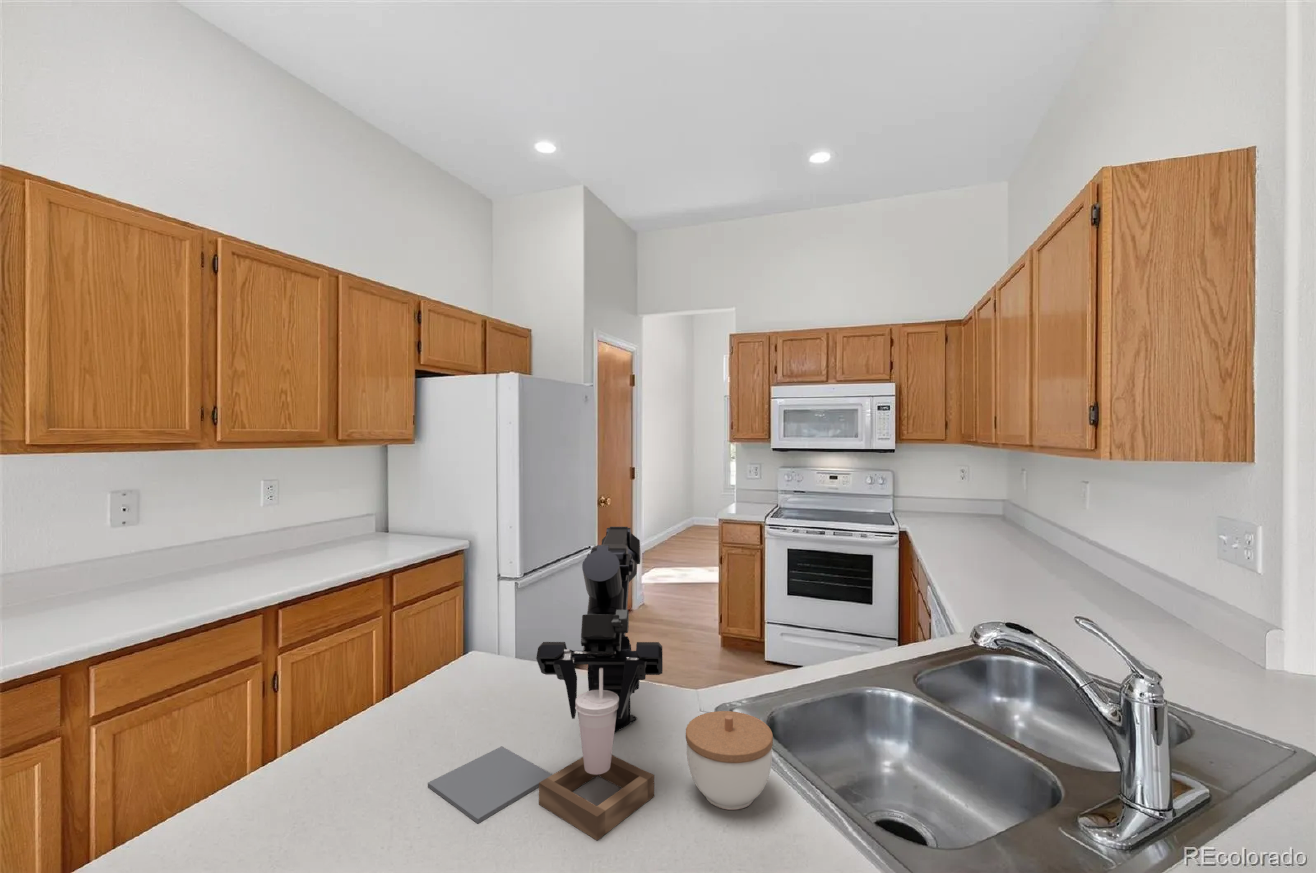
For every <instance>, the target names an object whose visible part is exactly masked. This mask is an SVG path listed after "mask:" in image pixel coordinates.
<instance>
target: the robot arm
mask: <svg viewBox="0 0 1316 873" xmlns="http://www.w3.org/2000/svg"><path fill="white" fill-rule="evenodd" d="M641 552H642V551H641V540H640V539H639V538H638V537H637V536H636V535H635V534H633V533H632V529H631V527H628V526H610V527H607V528H606V532H605V536H604V537H603V538H602V540H601V544H597V545H594V546H593V547H592V548H591V549H590V553H588V554H586V557H585V558H584V560H583V562H582V567H581V568H582V573H583V574H582V575H583V579H584V583H585V589H586V592H587V594H588V601H587V602H588V604H587V610H586V611H587V612H586V614H582V616H581V618H582V619H581V631H580V645H581V647H583V649H582V650H572V649H570V648H569V649H568V647H567V643H566V642H565V641H542V643H541V644H540V645H539V646H538V647H537V651H536V652H537V653H536V657H535V659H536V662H537V664H538V668H539V671H540V673H541V674H542V675H546V676H547V675H549V676H550V675H551V676H553V675H555V676H556V678H557V679H558V680H559V681H560V680H561V681H564V683H565V687H566V694H567V698H568V704H569V711H570V716H571V719H573V720H575V718H576V715H577V714H576V713H577V710H576V709H575V700H576V698H577V697H578V694H577V693H578V692H577V691H578V674H577V670H576V669H575V668H576V665H587V684H588V685H587V686H588V691H591V690H599V668H603V690H608V691H612V692H614V693H616V694H617V695H618V696H619V707H618V709H617V714H616V722H615V731H614V734H615V733H617V732H619V731H621V730H623V729H624V728H626V727H628V726H629V725H631V724H632V723H634V722H636V721H637V720H638V718H637V716H635V715H633V714H631V696H632V694H635V692H636V690H639V689H640V681H644V680H646V677H647V676H660V675H662V674H663V671H664V670H663V663H664V662H663V645H662V644H661V643H660V642H659V641H637V642H636V645H635V650H632V644H631V643H630V639H629V638H630V637H628V636H626V634H628V633H629V624H630V620H629V619H630V618H629V617H630V614H629V609H628V602H629V587H630V582H631V581H632V580H633V579H634V578H635V576H637V574H638V565H640V564H641V556H642V554H641Z"/></svg>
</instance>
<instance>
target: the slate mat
mask: <svg viewBox="0 0 1316 873" xmlns="http://www.w3.org/2000/svg"><path fill="white" fill-rule="evenodd" d="M553 774H554V773H551V772H549V771H547V770H545V769H544V768H542V767H540V766H539V765H537V764H534V763H533V762H531V761H530V760H527V759H525V758H524V757H522V756H521V755H519V754H517V753H515V752H513V751H511V750H510V749H508V748H506V747H504V746H500V747H497V748H495V749H493V750H491V751H489V752H486V753H484V754H483V755H481V756H479V757H477V758H475V759H473V760H471V761H469V762H467V763H465V764H462V765H461V766H459V767H457V768H455V769H452V770H451V771H449V772H446V773H445V774H443V775H441V776H438V777H436V778H434V779H433V780H430V781H429V782H427V787H428V788H429V789H430V790H431V791H433V792H435V794H437V795H439V796H440V797H441V798H442V799H443V800H445V801H446V802H448V803H449V804H451V805H452V806H454V808H456V809H457V810H459V811H460V812H461V813H463V814H464V815H465V816H467V817H468V818H469V819H471V820H473V821H474V822H475V823H477V824H480V823H481V822H483V821H485V820H487V819H488V818H489V817H491V816H494V814H497V813H498V812H499V811H501V810H503V809H505V808H507V807H508V806H509V805H512V804H513V803H514V802H516V801H518V800H520V799H522V798H523V797H524V796H526V795H528V794H530V793H531V792H533V791H535V790H536V789H539V782H541V781H543V780H544V779H546V778H548V777H550V776H551V775H553Z"/></svg>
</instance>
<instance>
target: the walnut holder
mask: <svg viewBox="0 0 1316 873" xmlns="http://www.w3.org/2000/svg"><path fill="white" fill-rule="evenodd" d="M552 774H553V775H551V776H550V777H548V778H546V779H544V780H543V781H541V782H539V787H538V805H539V806H541V807H542V808H544V809H546V810H547V811H549V812H550V813H552V814H554V815H555V816H557V817H558V818H561V819H562V820H563V821H565V822H567V823H568V824H569V825H571V826H573V827H575V828H576V829H578V830H580V831H581V832H582V833H585V835H588V837H591V838H592V839H594V840H595V841H599V840H600V839H602V837H603V836H605V835H607V834H608V833H609V832H610V831H611V830H613V829H614V828H615V827H617V826H618V825H619V824H620V823H622V822H623V821H624V820H626V819H627V818H628V817H630V816H631V815H632V814H633V813H635V812H636V811H637V810H638V809H640V808H641V807H642V806H643V805H645V804H646V803H648V802H649V801H651V799H653V798H654V797H655V774H653V773H650V772H648V771H647V770H645V769H642V768H641V767H638V766H636V765H634V764H632V763H629V762H627V761H625V760H623V759H621V758H619V757H617V756H615V755H613V754H612V757H611V765H610V769H609V770H608V771H607V772H605V773H603V774H598V775H594V774H590V773H587V772H586V771H585V768H584V760H583V756H581V757H580V758H578V759H577V760H575V761H573V762H571V763H570V764H568V765H567V766H565V767H563V768H561V769H560V770H558V771H556V772H555V773H552ZM597 776H598V777H600V778H601V779H604V780H605V781H606V782H609V783H611V784H613V785H615V786H617V787H619V788H620V789H619V790H618V791H616V792H615V793H614V794H612V795H611V796H609V797H608V798H606V799H605V800H603V801H602V802H601V803H599V804H598V805H596V804H594V803H592V802H591V801H589V800H587V799H586V798H584V797H582V796H580V795H578V794H576V792H573V791H576V790H577V789H579V788H580V787H581V786H583V785H584V784H586V783H588V782H589V781H591V780H592V779H594V778H596V777H597Z"/></svg>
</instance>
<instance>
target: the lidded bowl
mask: <svg viewBox="0 0 1316 873" xmlns="http://www.w3.org/2000/svg"><path fill="white" fill-rule="evenodd" d="M773 735H774V734H773V732H772V729H771V728H770V726H768V724H766V723H765V722H764V721H763V720H761V719H759V718H758V717H755V716H753V715H751V714H747V713H743V712H738V711H730V710H729V711H728V710H727V711H726V710H720V711H719V710H718V711H710V712H706V713H703V714H700V715H698V716H695V717H694V718H692V719H691V720H690V721H689V723H688V724H687V725H686V728H685V740H686V756H687V764H688V765H687V766H688V768H689V772H690V775H691V779H692V781H693V783H694V784H695V786H696V787H697V789H698V790H699V791H700V793H701V794H702V795H704V797H705V798H706V800H707V801H708V802H709V804H711V805H712V806H714V807H716V808H718V809H722V810H728V811H737V810H738V811H739V810H743V809H745V808H747V807H749V806H750V805H751V804H752V803H753V802H754V801H755V799H757V798H758V796H760V795H761V794H762V792H763V791H764V789H765V787H767V786H766V785H767V783H768V781H769V779H770V774H771V770H772V769H771V768H772V761H773V759H772V758H773V744H774V741H773V740H774V736H773Z"/></svg>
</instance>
